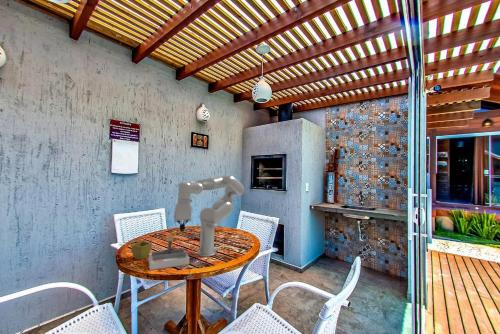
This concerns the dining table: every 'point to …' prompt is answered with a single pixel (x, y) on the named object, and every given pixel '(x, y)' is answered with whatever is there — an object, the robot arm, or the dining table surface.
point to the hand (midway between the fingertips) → (182, 230)
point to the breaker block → (168, 259)
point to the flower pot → (141, 250)
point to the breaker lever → (169, 243)
